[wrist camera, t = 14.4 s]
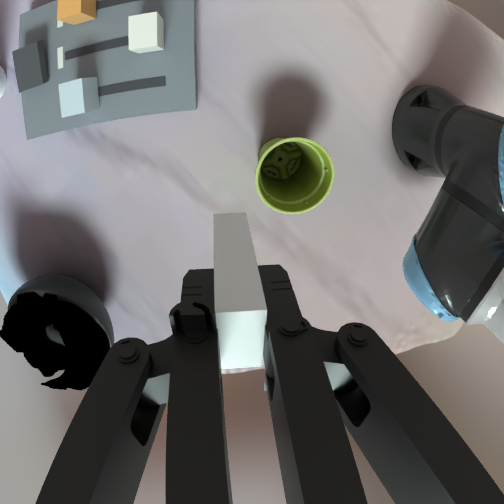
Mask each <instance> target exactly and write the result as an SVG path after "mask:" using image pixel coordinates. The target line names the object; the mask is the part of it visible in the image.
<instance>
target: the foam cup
mask: <svg viewBox="0 0 504 504" xmlns="http://www.w3.org/2000/svg"><path fill="white" fill-rule="evenodd" d="M5 87H6V74H5V70H4V69H3V68H2V67H1V66H0V97H1V96H2V95H3V92H4V90H5Z"/></svg>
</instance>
